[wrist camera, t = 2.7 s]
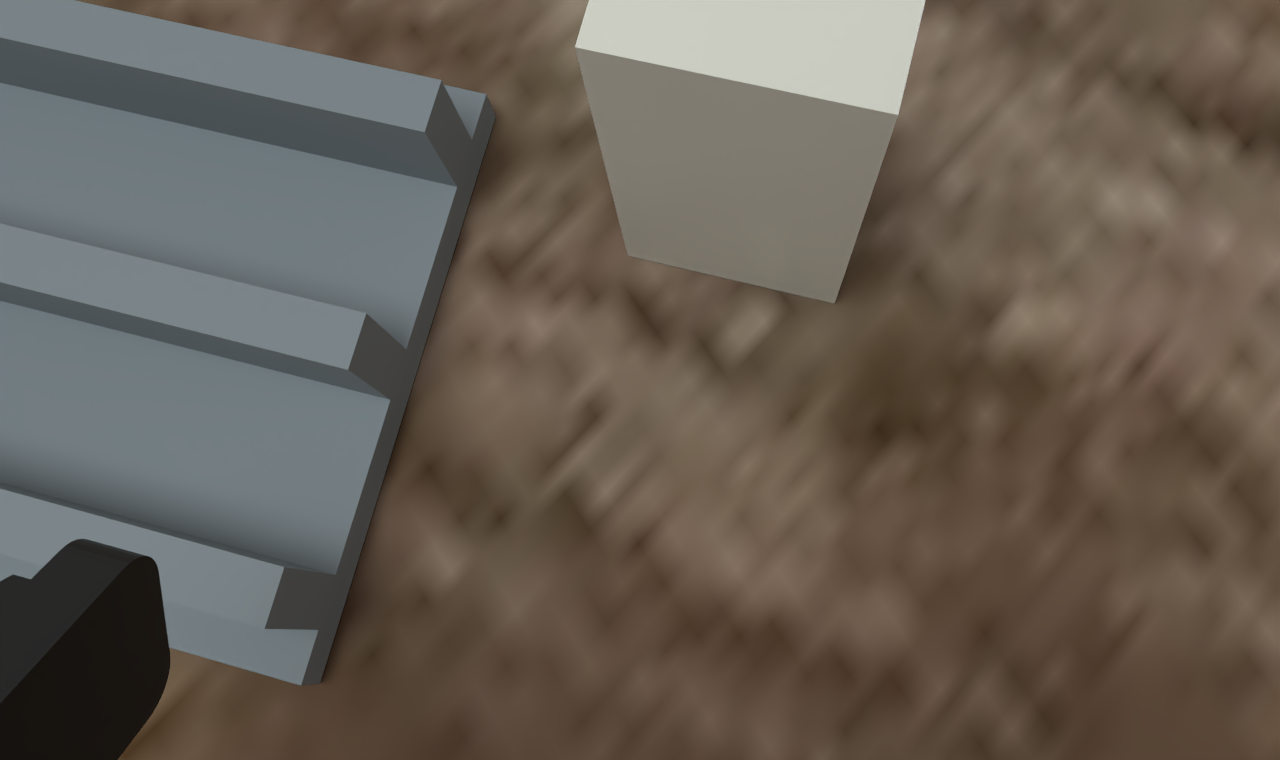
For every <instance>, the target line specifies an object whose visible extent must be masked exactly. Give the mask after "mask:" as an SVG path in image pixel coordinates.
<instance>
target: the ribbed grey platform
mask: <svg viewBox="0 0 1280 760" xmlns="http://www.w3.org/2000/svg"><path fill="white" fill-rule="evenodd" d="M495 118H496V115H495V113H494V111H493V108H492V106H491V104H490V101H489V99H488V97H487V95H486V94H483V93H479V92H474V91H470V90H465V89H460V88H456V87H451V86H447V85H444V84H443V82H442V80H438V79H434V78H429V77H425V76H420V75H415V74H411V73H406V72H402V71H397V70H392V69H388V68H383V67H379V66H374V65H369V64H365V63H360V62H356V61H351V60H346V59H342V58H337V57H332V56H328V55H323V54H319V53H314V52H309V51H305V50H300V49H296V48H291V47H286V46H282V45H277V44H273V43H268V42H263V41H259V40H254V39H250V38H245V37H240V36H236V35H231V34H227V33H222V32H217V31H213V30H208V29H203V28H199V27H194V26H190V25H185V24H180V23H176V22H171V21H167V20H162V19H157V18H153V17H148V16H144V15H139V14H134V13H130V12H125V11H121V10H116V9H111V8H107V7H102V6H98V5H93V4H88V3H84V2H79V1H74V0H0V581H2V580H4V579H5V578H7V577H9V576H11V575H13V574H14V575H17V576H21V577H24V578H28V579H32V578H33V577H34V576H35V575H36V574H37V573H38V572H39V571H40V570H41V569H42V568H43V567H44V566H45V565H46V564H47V563H48V562H49V561H50V560H51V559H52V558H53V557H54V556H55V555H56V554H57V553H58V552H59V551H60V550H61V549H62V548H63V547H64V546H66V545H67V544H69V543H70V542H72V541H74V540H77V539H88V540H91V541H95V542H99V543H102V544H106V545H110V546H113V547H117V548H120V549H124V550H128V551H131V552H135V553H138V554H142V555H146V556H149V557H151V558H153V559H154V561H155V562H156V564H157V566H158V570H159V576H160V584H161V591H162V599H163V606H164V613H165V621H166V628H167V635H168V643H169V647H170V648H173V649H177V650H180V651H183V652H187V653H190V654H194V655H197V656H201V657H204V658H208V659H211V660H215V661H218V662H221V663H225V664H228V665H232V666H235V667H239V668H242V669H246V670H249V671H253V672H256V673H259V674H263V675H266V676H270V677H273V678H277V679H280V680H284V681H287V682H291V683H294V684H297V685H310V684H318V683H320V682H321V679H322V676H323V673H324V669H325V666H326V663H327V660H328V656H329V653H330V650H331V647H332V644H333V640H334V637H335V634H336V631H337V627H338V624H339V621H340V618H341V615H342V611H343V608H344V605H345V602H346V598H347V595H348V592H349V589H350V586H351V582H352V579H353V576H354V573H355V569H356V566H357V563H358V560H359V557H360V553H361V550H362V547H363V544H364V540H365V537H366V534H367V531H368V528H369V524H370V521H371V518H372V515H373V511H374V508H375V505H376V502H377V499H378V495H379V492H380V489H381V486H382V482H383V479H384V476H385V473H386V469H387V466H388V463H389V460H390V457H391V453H392V450H393V447H394V444H395V440H396V437H397V434H398V431H399V428H400V424H401V421H402V418H403V415H404V411H405V408H406V405H407V402H408V399H409V395H410V392H411V389H412V386H413V382H414V379H415V376H416V373H417V370H418V366H419V363H420V360H421V357H422V353H423V350H424V347H425V344H426V341H427V337H428V334H429V331H430V328H431V324H432V321H433V318H434V315H435V312H436V308H437V305H438V302H439V299H440V295H441V292H442V289H443V286H444V283H445V279H446V276H447V273H448V270H449V266H450V263H451V260H452V257H453V253H454V250H455V247H456V244H457V241H458V237H459V234H460V231H461V228H462V224H463V221H464V218H465V215H466V212H467V208H468V205H469V202H470V199H471V195H472V192H473V189H474V186H475V183H476V179H477V176H478V173H479V170H480V166H481V163H482V160H483V157H484V154H485V150H486V147H487V144H488V141H489V137H490V134H491V131H492V128H493V125H494V121H495Z"/></svg>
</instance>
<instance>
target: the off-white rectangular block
mask: <svg viewBox="0 0 1280 760" xmlns="http://www.w3.org/2000/svg"><path fill="white" fill-rule="evenodd" d="M924 4H925V0H589V2H588V5H587V9H586V12H585V15H584V19H583V22H582V25H581V29H580V32H579V35H578V39H577V42H576V45H575V49H576V53H577V57H578V61H579V65H580V69H581V73H582V77H583V81H584V85H585V89H586V93H587V97H588V101H589V105H590V109H591V113H592V116H593V120H594V124H595V128H596V132H597V136H598V140H599V144H600V148H601V152H602V156H603V160H604V164H605V168H606V172H607V176H608V180H609V184H610V188H611V192H612V196H613V200H614V204H615V208H616V211H617V215H618V219H619V223H620V227H621V231H622V235H623V239H624V243H625V247H626V251H627V255H628V256H631V257H635V258H640V259H644V260H648V261H653V262H657V263H661V264H666V265H670V266H674V267H678V268H683V269H687V270H691V271H696V272H700V273H704V274H709V275H713V276H717V277H722V278H726V279H730V280H735V281H739V282H743V283H748V284H752V285H756V286H760V287H765V288H769V289H773V290H778V291H782V292H786V293H791V294H795V295H799V296H804V297H808V298H812V299H817V300H821V301H825V302H829V303H834V304H835V301H836V298H837V295H838V292H839V289H840V286H841V283H842V280H843V277H844V274H845V271H846V268H847V266H848V263H849V260H850V257H851V254H852V251H853V248H854V245H855V242H856V239H857V236H858V233H859V230H860V227H861V224H862V221H863V218H864V215H865V212H866V209H867V206H868V203H869V200H870V197H871V194H872V191H873V188H874V185H875V182H876V179H877V176H878V174H879V171H880V168H881V165H882V162H883V159H884V156H885V153H886V150H887V147H888V144H889V141H890V138H891V135H892V132H893V129H894V126H895V123H896V120H897V117H898V114H899V110H900V105H901V101H902V97H903V93H904V88H905V84H906V80H907V76H908V72H909V67H910V63H911V59H912V55H913V50H914V46H915V42H916V38H917V33H918V29H919V25H920V21H921V17H922V12H923V8H924Z"/></svg>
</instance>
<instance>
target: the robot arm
mask: <svg viewBox="0 0 1280 760" xmlns="http://www.w3.org/2000/svg"><path fill="white" fill-rule="evenodd" d="M169 669H170V650H169V643H168V635H167V628H166V621H165V613H164V606H163V599H162V591H161V584H160V576H159V570H158V566H157V564H156V562H155V561H154V559H153V558H151V557H149V556H146V555H142V554H138V553H135V552H131V551H128V550H124V549H120V548H117V547H113V546H110V545H106V544H102V543H99V542H95V541H91V540H88V539H77V540H74V541H72V542H70V543H69V544H67V545H66V546H64V547H63V548H62V549H61V550H60V551H59V552H58V553H57V554H56V555H55V556H54V557H53V558H52V559H51V560H50V561H49V562H48V563H47V564H46V565H45V566H44V567H43V568H42V569H41V570H40V571H39V572H38V573H37V574H36V575H35V576H34V577H33V578H32V579H28V578H24V577H21V576H17V575H14V574H13V575H11V576H9V577H7V578H5V579H4V580H2V581H0V760H118V758H119V757H120V756H121V754H122V753H123V752H124V750H125V749H126V748H127V746H128V745H129V744H130V743H131V741H132V740H133V739H134V737H135V736H136V735H137V733H138V732H139V731H140V729H141V728H142V727H143V725H144V724H145V723H146V722H147V720H148V719H149V717H150V716H151V715H152V713H153V711H154V710H155V708H156V706H157V704H158V702H159V700H160V698H161V696H162V694H163V691H164V688H165V685H166V682H167V679H168V675H169Z"/></svg>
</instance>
